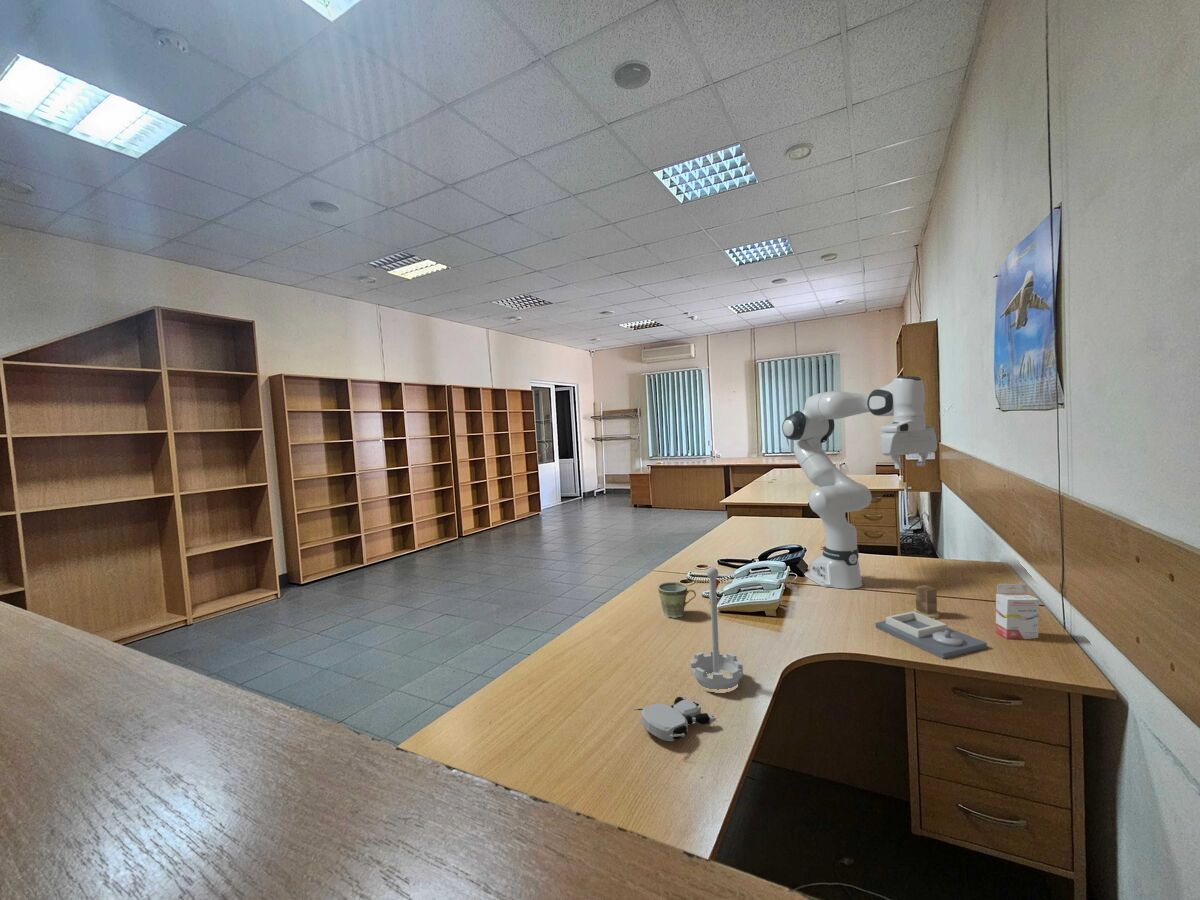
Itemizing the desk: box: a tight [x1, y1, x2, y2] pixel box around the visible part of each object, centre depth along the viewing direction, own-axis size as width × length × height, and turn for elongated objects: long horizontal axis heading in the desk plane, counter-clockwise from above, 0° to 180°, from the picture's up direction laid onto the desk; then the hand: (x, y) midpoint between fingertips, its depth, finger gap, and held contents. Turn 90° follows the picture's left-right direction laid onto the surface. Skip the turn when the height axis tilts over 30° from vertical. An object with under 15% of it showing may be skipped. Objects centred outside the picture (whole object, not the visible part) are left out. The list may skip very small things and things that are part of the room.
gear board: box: [875, 610, 988, 660], centre depth 145 cm, size 22×16×4 cm
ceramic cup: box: [657, 581, 697, 619], centre depth 171 cm, size 13×10×10 cm
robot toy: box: [633, 695, 717, 742], centre depth 109 cm, size 12×4×15 cm
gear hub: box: [913, 584, 941, 619], centre depth 160 cm, size 7×7×9 cm
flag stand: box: [690, 566, 744, 690], centre depth 126 cm, size 13×13×30 cm
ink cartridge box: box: [995, 583, 1040, 640], centre depth 143 cm, size 9×5×15 cm, turn 84°
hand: (909, 467), depth 162 cm, fingers open, 8 cm apart
